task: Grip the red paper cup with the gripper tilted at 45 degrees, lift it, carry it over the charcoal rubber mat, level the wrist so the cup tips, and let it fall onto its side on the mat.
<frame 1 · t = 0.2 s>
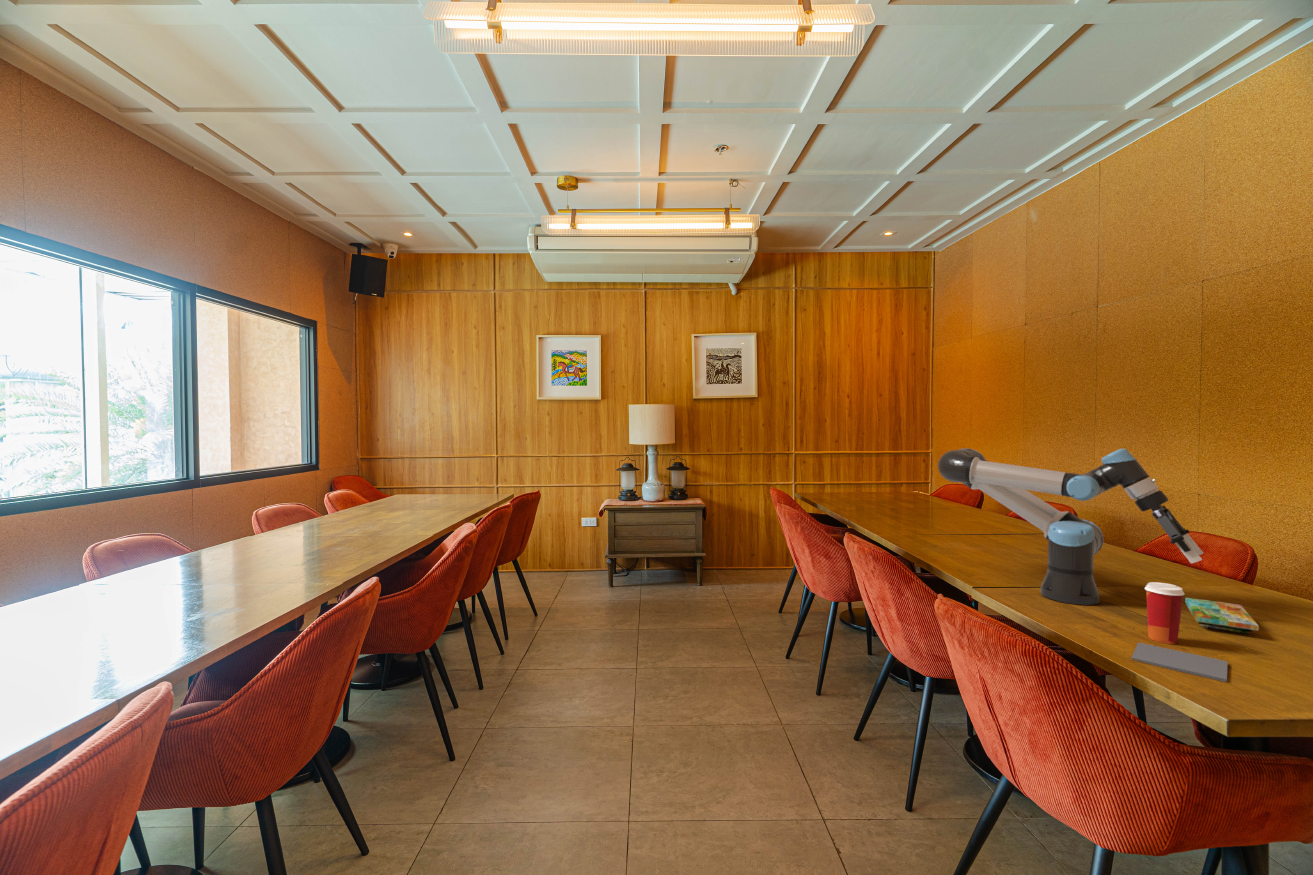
hand: (1197, 558, 171), 15 cm above the table, tool tilted 35°, fingers open, 13 cm apart
paper cup: (1162, 640, 149), on the table
puzzle game: (1219, 625, 161), on the table
mat: (1179, 661, 135), on the table
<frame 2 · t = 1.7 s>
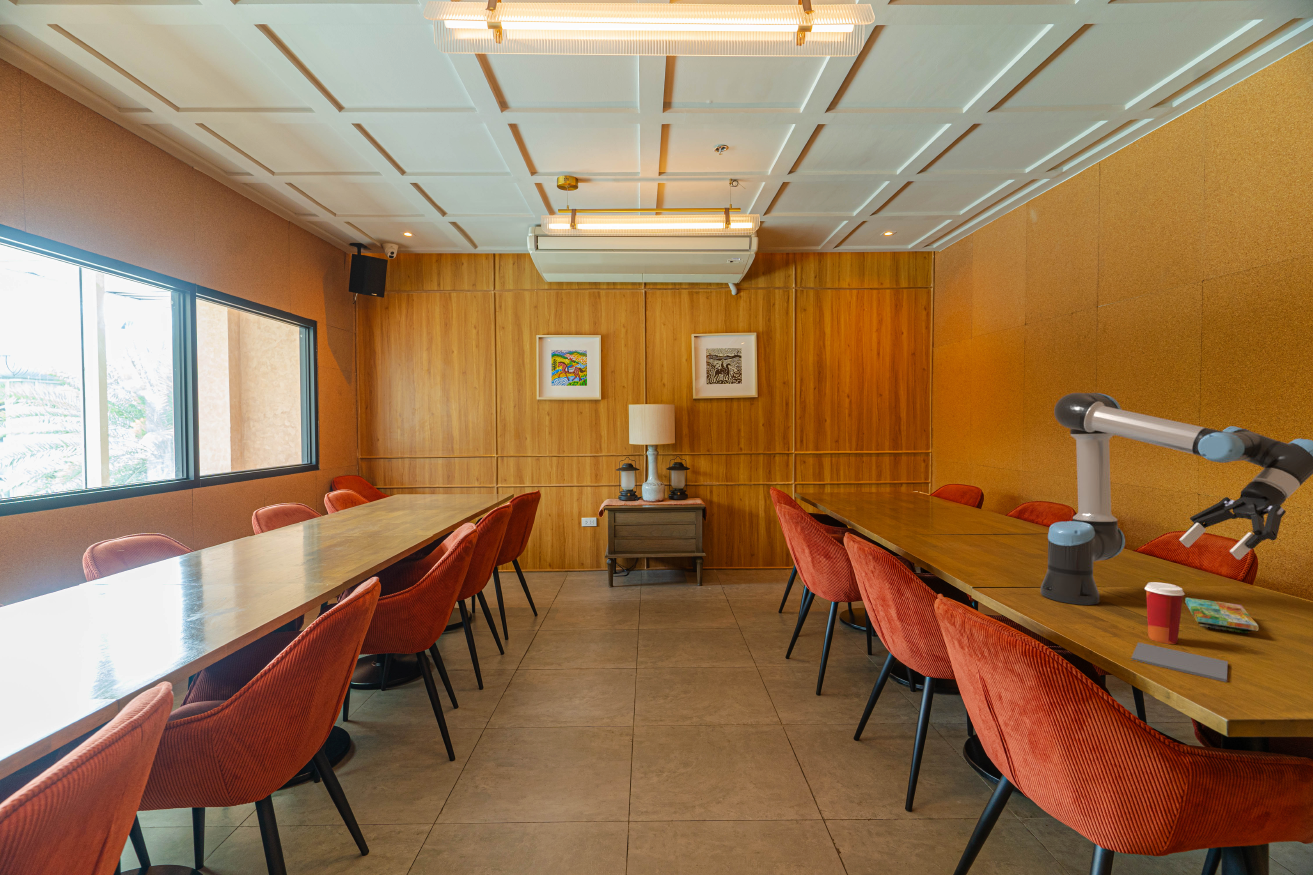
hand: (1207, 549, 148), 23 cm above the table, tool tilted 45°, fingers open, 13 cm apart
nothing on the table moved.
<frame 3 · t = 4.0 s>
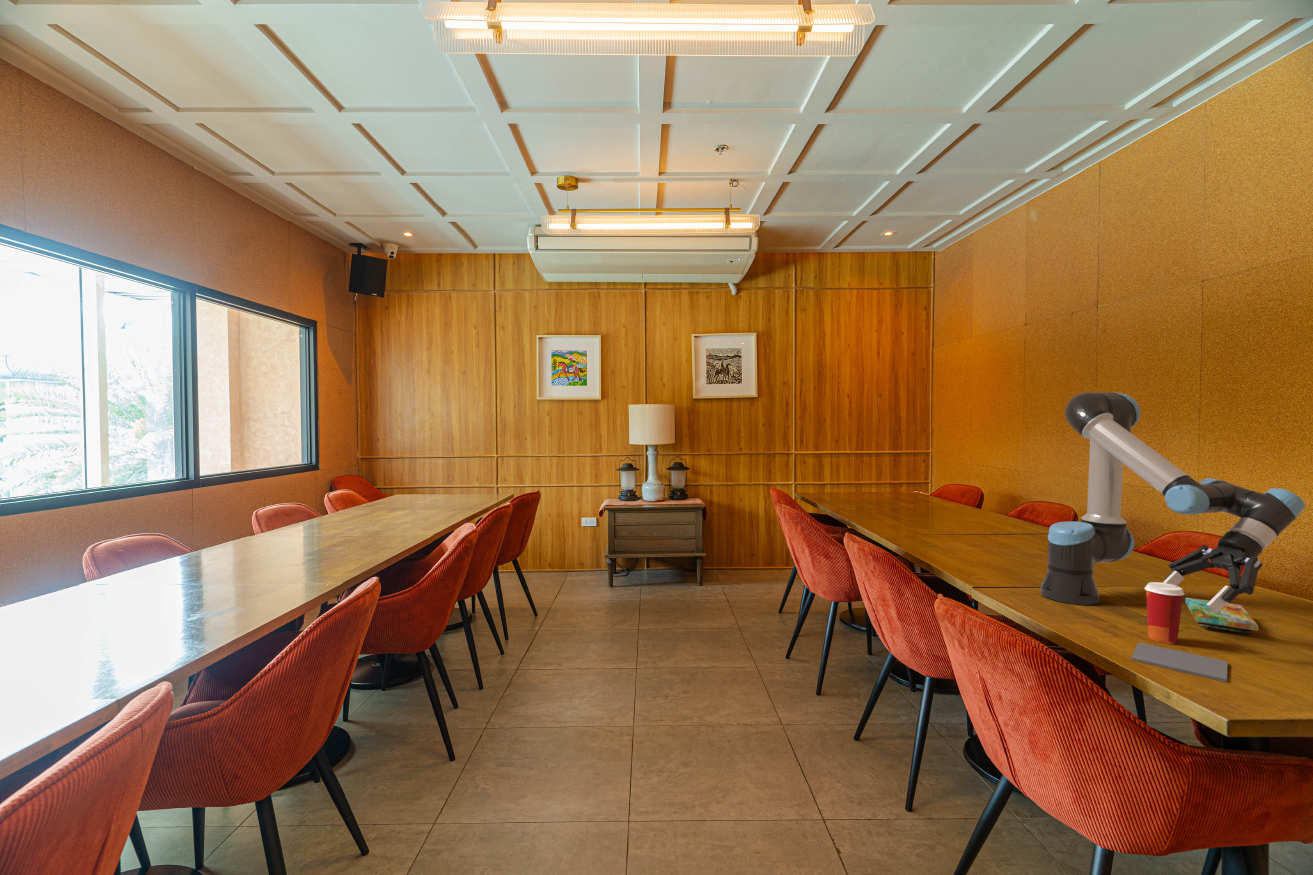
hand: (1185, 600, 147), 11 cm above the table, tool tilted 45°, fingers open, 13 cm apart
nothing on the table moved.
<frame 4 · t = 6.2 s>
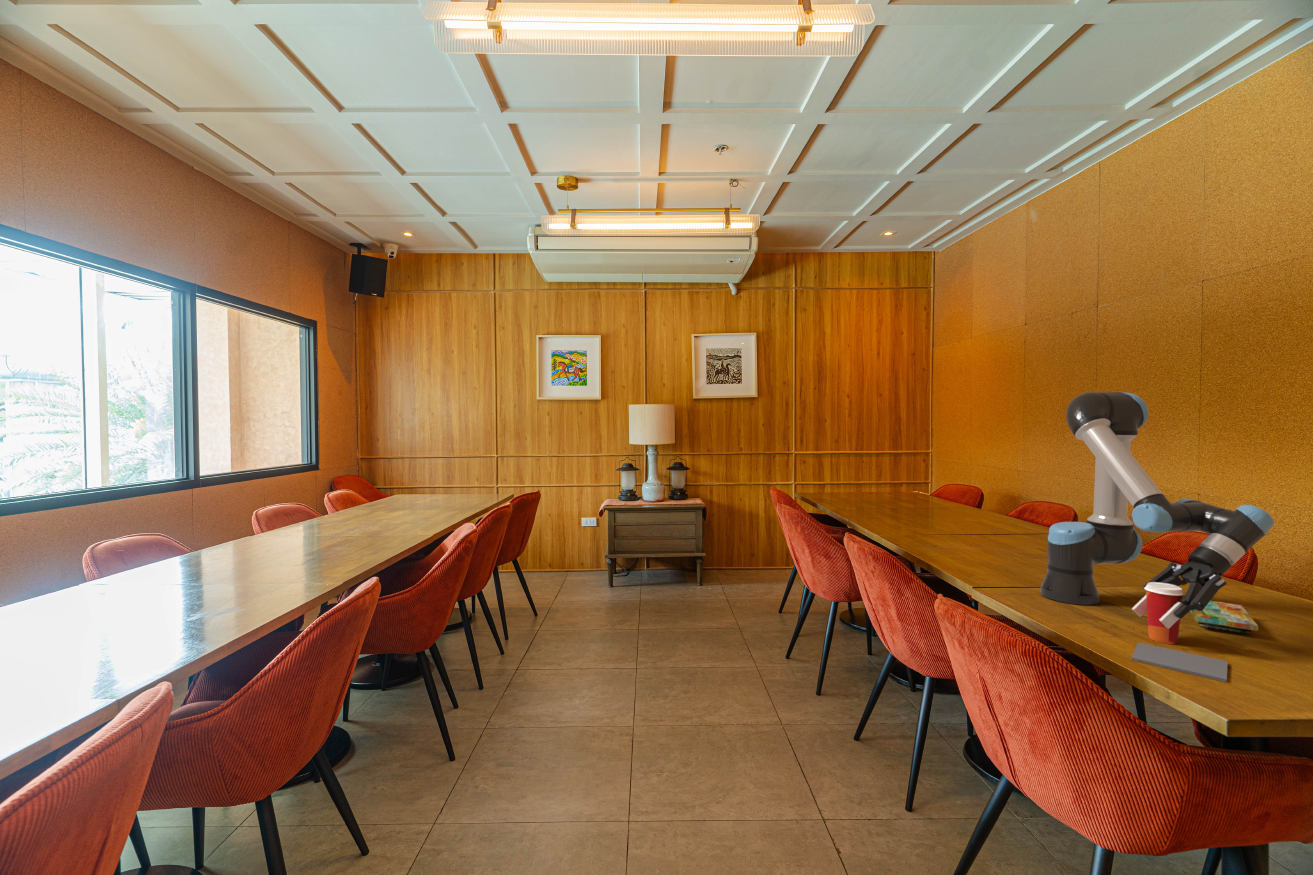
hand: (1149, 618, 149), 6 cm above the table, tool tilted 45°, fingers closed on paper cup, 8 cm apart
paper cup: (1162, 640, 149), on the table, touching gripper
everything else where it was.
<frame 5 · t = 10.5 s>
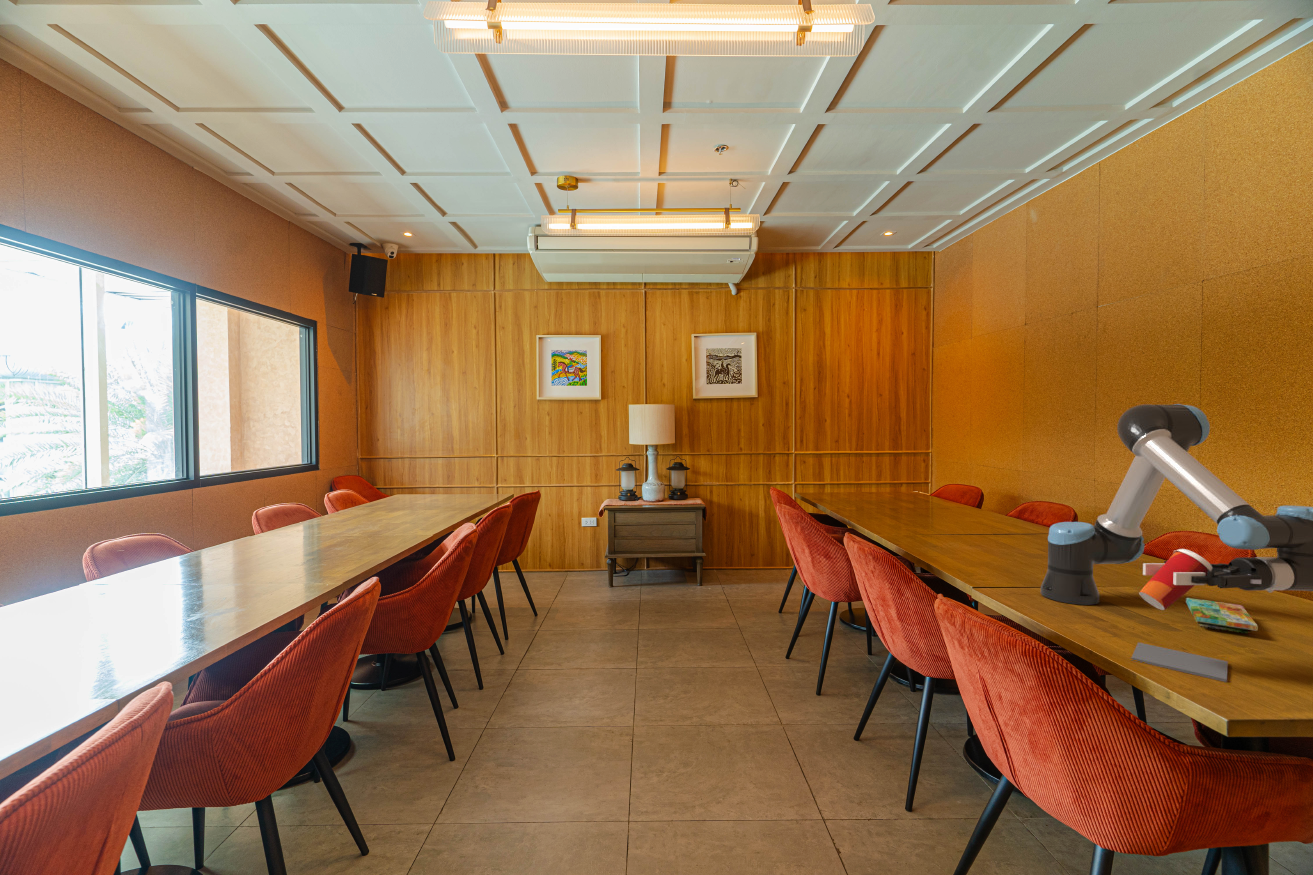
hand: (1159, 573, 136), 20 cm above the table, tool horizontal, fingers closed on paper cup, 8 cm apart
paper cup: (1150, 601, 136), point 14 cm above the table, touching gripper
everything else where it was.
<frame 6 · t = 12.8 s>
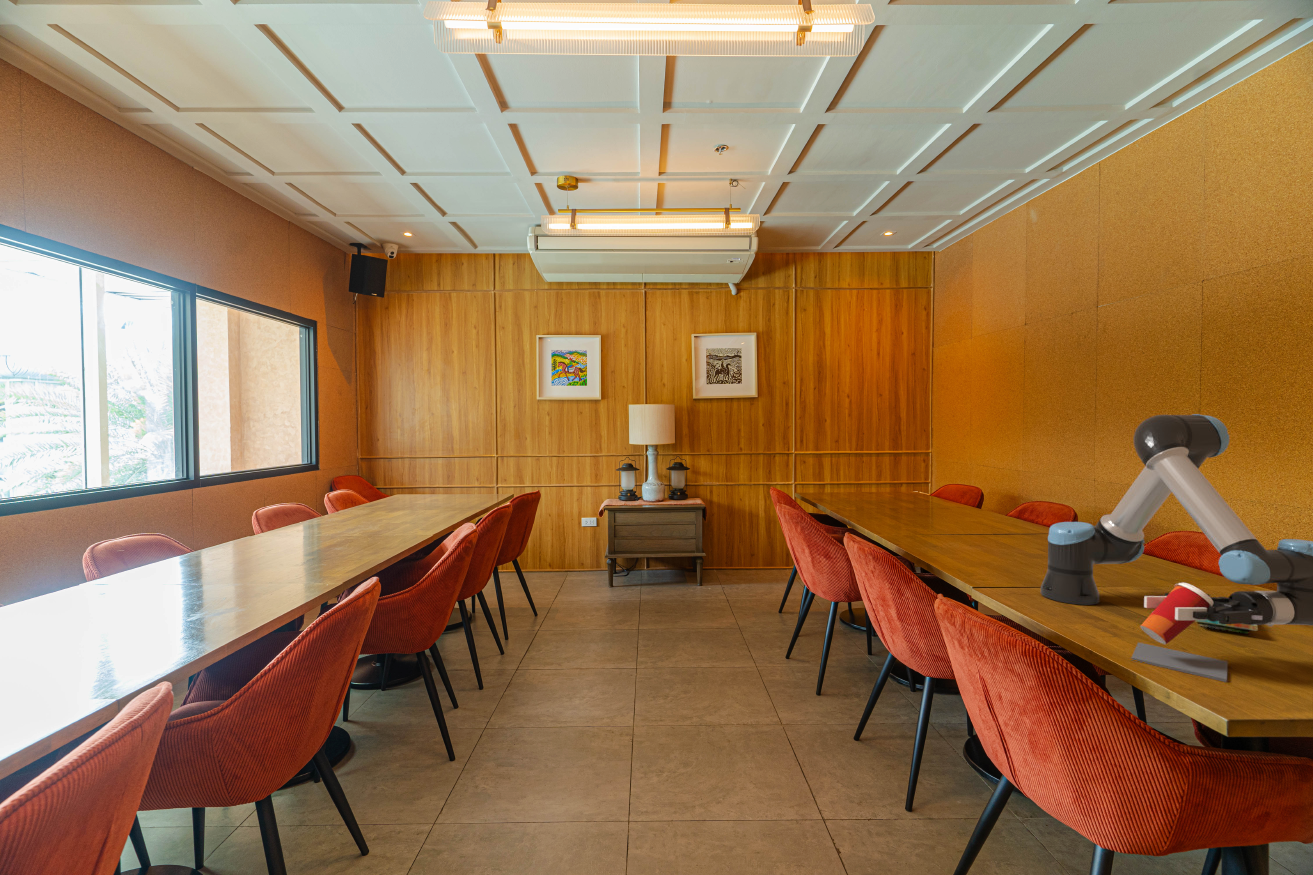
hand: (1160, 607, 136), 13 cm above the table, tool horizontal, fingers closed on paper cup, 8 cm apart
paper cup: (1152, 635, 136), point 6 cm above the table, touching gripper
everything else where it was.
when the fingers open (12 cm above the table, at t = 13.4 s): paper cup drops 2 cm, resting on mat.
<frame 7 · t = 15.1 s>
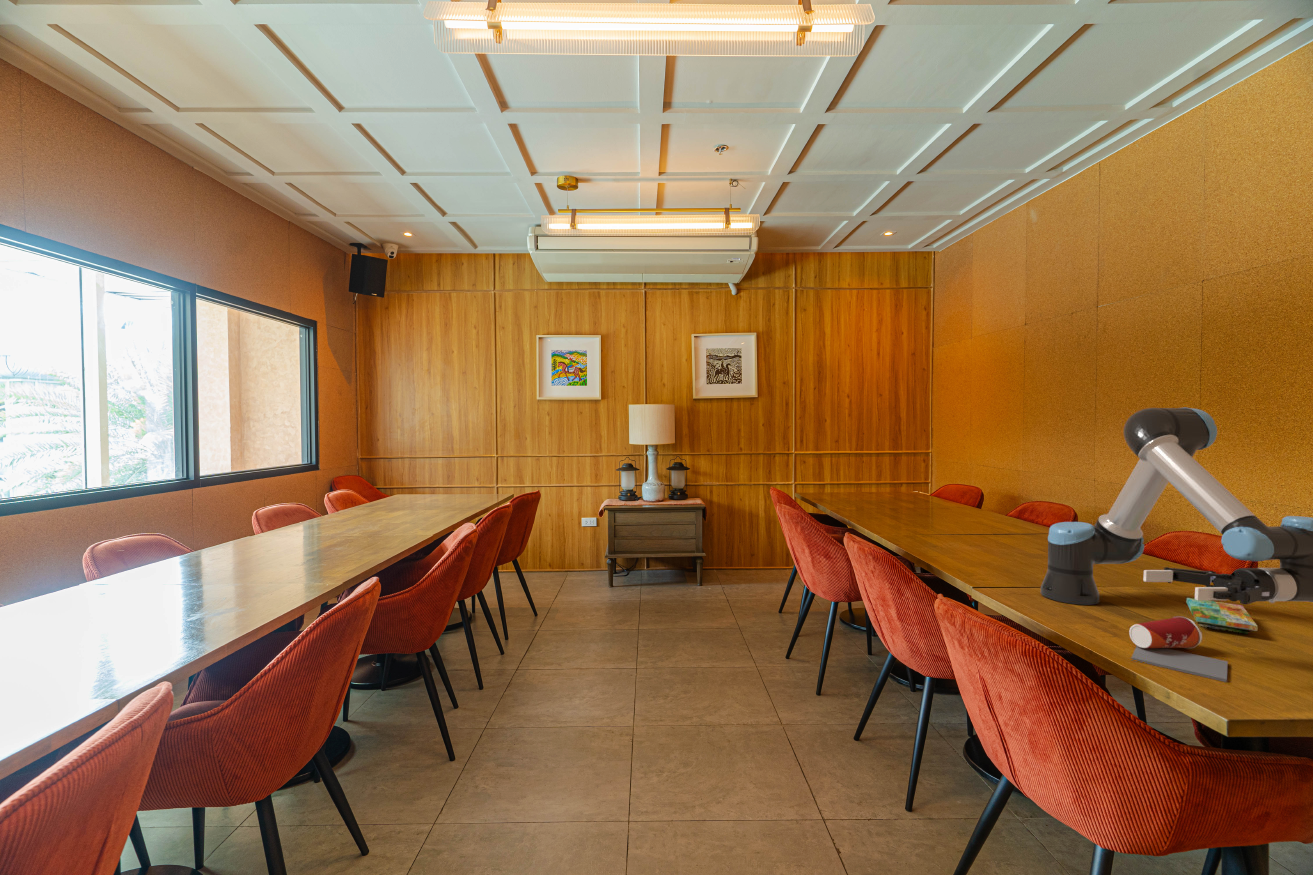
hand: (1169, 584, 135), 18 cm above the table, tool horizontal, fingers open, 13 cm apart
paper cup: (1139, 636, 141), point 4 cm above the table, touching mat
everything else where it was.
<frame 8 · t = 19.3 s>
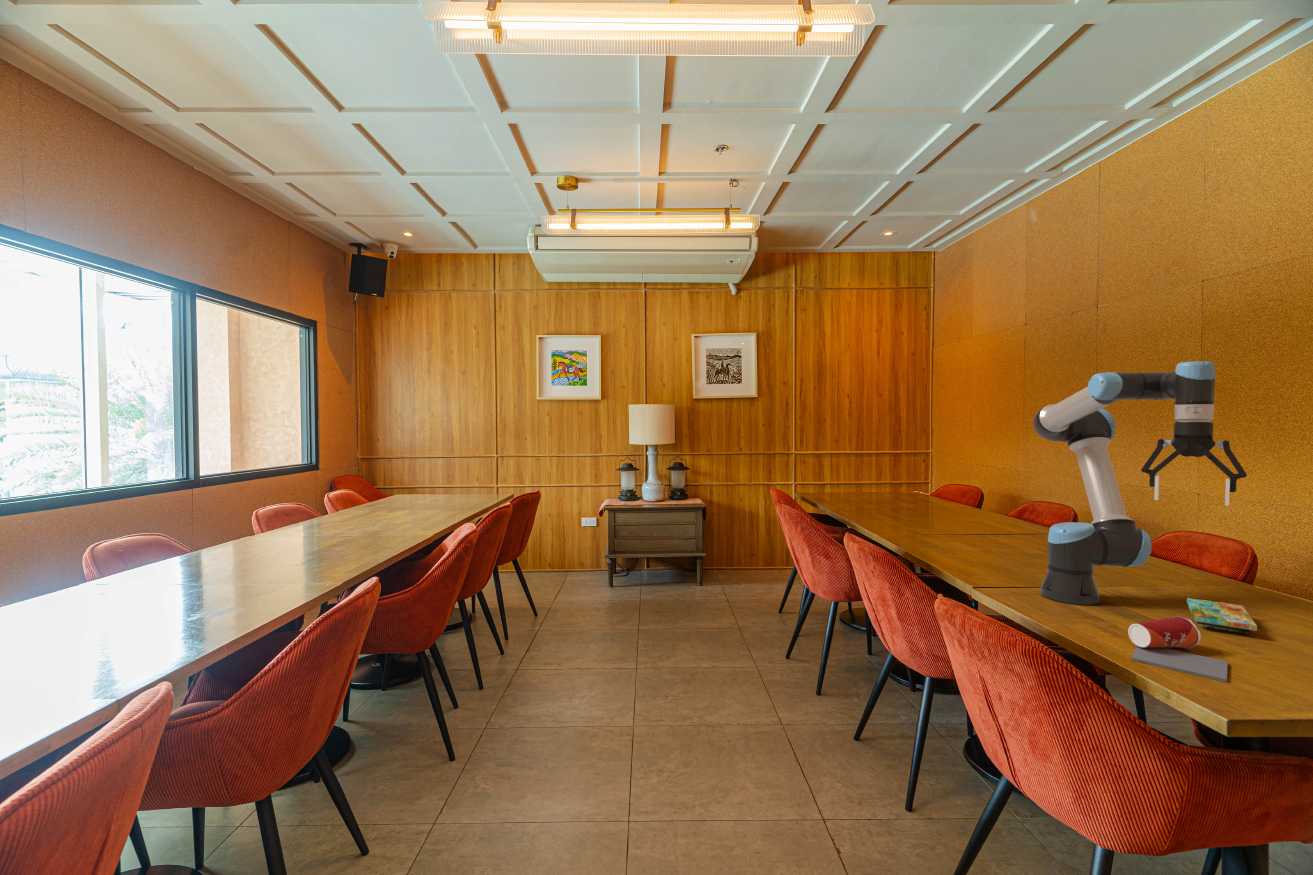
hand: (1190, 502, 152), 35 cm above the table, tool pointing down, fingers open, 13 cm apart
nothing on the table moved.
at the end: paper cup tilted 90°; paper cup inside the target area on the mat (7.7 cm from its centre), point 3.8 cm above the mat's base; the gripper is holding nothing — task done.
